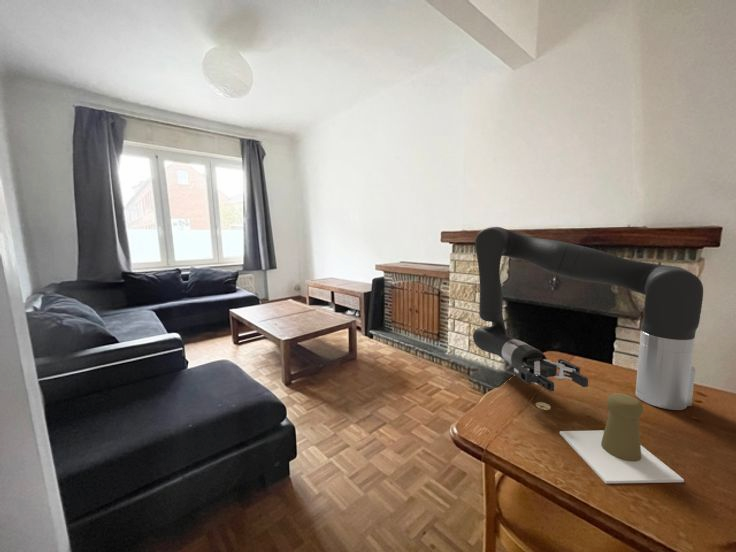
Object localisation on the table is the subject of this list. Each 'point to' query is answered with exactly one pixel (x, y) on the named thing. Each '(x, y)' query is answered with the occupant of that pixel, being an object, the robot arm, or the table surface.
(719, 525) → the table surface
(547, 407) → the brass coin
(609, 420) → the cork
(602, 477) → the white mat
